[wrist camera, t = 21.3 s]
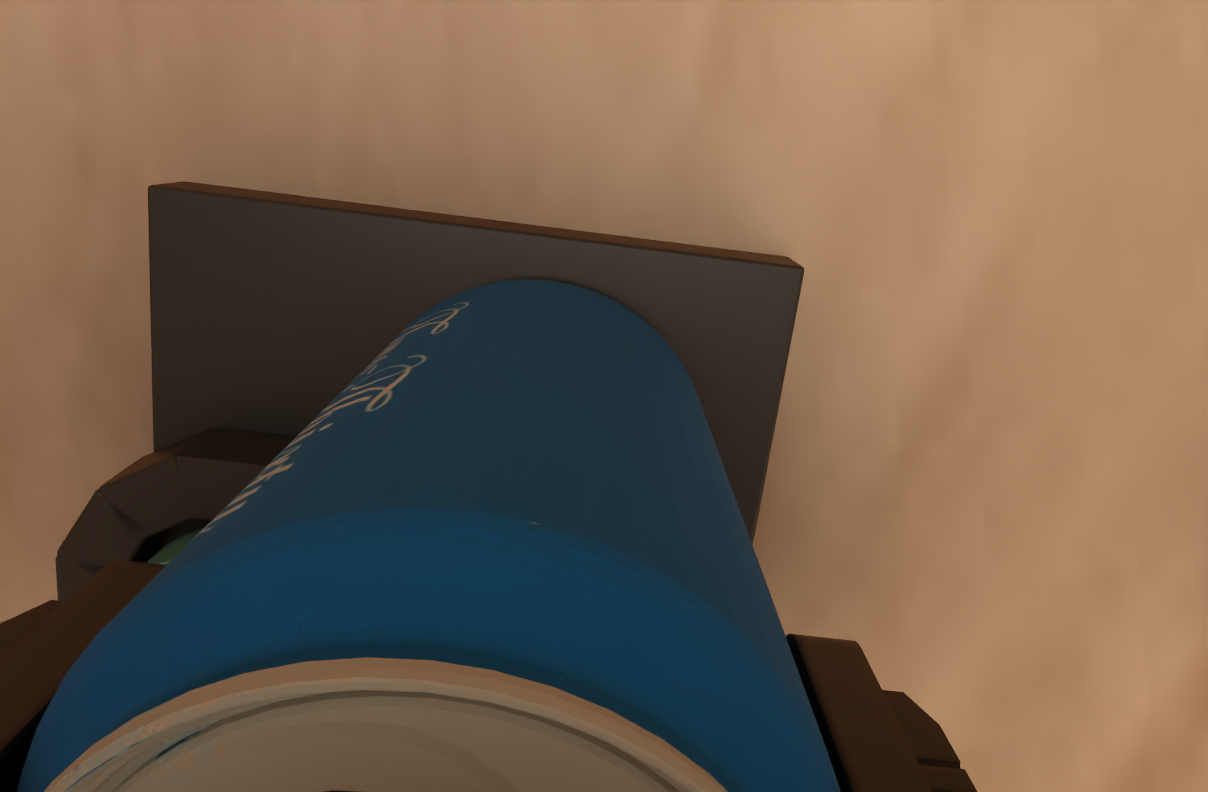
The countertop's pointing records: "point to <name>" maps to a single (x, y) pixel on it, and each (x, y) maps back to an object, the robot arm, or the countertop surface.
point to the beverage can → (461, 591)
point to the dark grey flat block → (388, 337)
